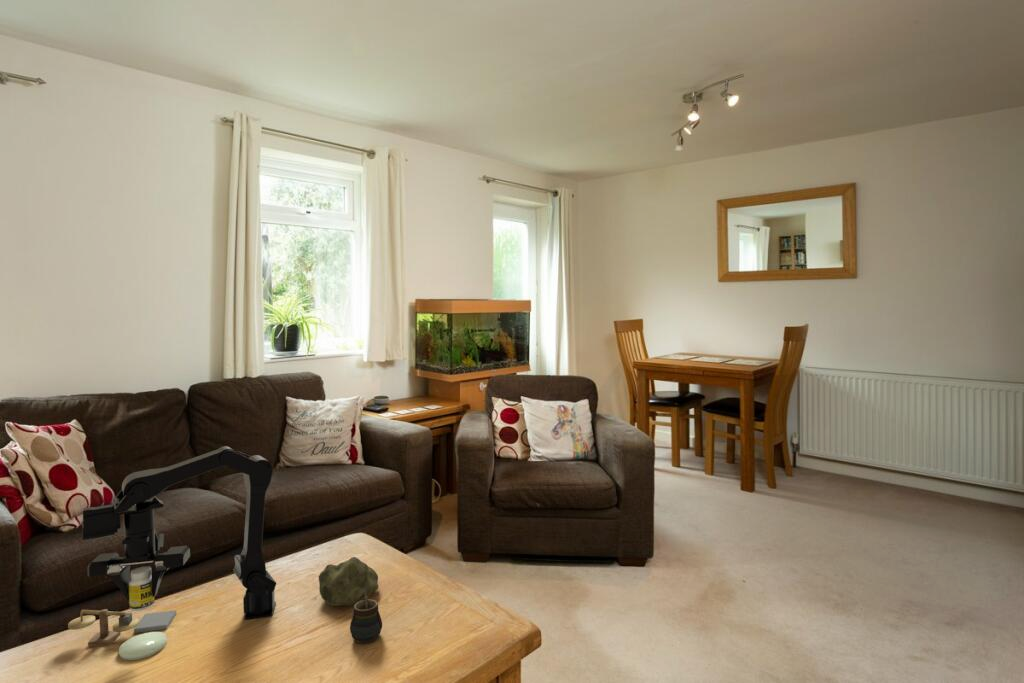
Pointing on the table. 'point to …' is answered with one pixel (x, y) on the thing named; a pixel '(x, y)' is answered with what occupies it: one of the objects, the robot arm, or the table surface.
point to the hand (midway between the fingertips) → (142, 597)
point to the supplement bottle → (140, 589)
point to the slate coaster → (155, 621)
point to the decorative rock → (347, 582)
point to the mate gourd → (365, 621)
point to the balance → (104, 625)
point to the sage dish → (142, 646)
